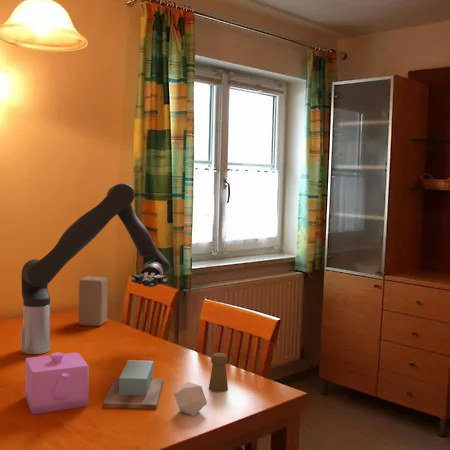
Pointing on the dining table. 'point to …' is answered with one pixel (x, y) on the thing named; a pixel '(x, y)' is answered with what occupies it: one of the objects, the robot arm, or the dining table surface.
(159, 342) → the dining table surface
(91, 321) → the block
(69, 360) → the teapot
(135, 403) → the board
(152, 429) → the dining table surface
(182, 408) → the die
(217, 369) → the cork
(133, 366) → the pillar
